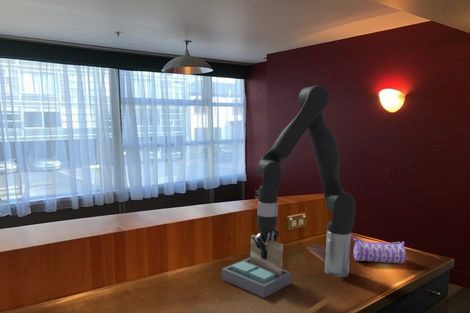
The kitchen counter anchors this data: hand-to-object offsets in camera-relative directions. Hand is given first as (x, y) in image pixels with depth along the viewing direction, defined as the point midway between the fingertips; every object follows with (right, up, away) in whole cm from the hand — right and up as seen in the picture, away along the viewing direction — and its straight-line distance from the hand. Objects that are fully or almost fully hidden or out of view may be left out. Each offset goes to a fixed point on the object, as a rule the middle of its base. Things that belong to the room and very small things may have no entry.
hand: (265, 258), depth 141 cm
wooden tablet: (+29, -7, +28) cm, 41 cm away
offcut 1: (-8, -7, -2) cm, 11 cm away
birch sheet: (0, -7, +1) cm, 7 cm away
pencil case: (+51, -8, +23) cm, 56 cm away
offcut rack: (-4, -9, -3) cm, 10 cm away
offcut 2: (-2, -8, -8) cm, 11 cm away
